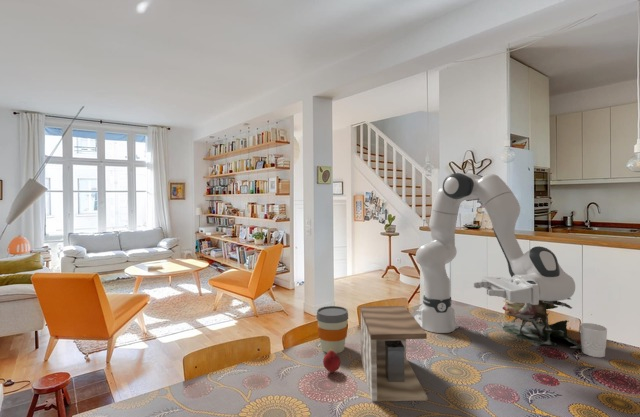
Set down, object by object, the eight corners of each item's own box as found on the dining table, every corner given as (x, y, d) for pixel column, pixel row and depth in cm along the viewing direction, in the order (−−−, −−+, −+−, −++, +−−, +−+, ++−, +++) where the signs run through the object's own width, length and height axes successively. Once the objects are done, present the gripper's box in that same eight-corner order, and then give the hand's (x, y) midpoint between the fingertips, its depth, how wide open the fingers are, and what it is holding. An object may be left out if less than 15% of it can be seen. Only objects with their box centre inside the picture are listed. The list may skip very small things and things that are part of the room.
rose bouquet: (549, 323, 158) (549, 258, 157) (592, 351, 129) (592, 271, 128) (491, 322, 161) (490, 258, 160) (520, 349, 132) (520, 271, 131)
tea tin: (385, 373, 113) (384, 340, 113) (401, 373, 113) (400, 340, 113) (388, 382, 108) (387, 347, 108) (404, 381, 108) (404, 347, 108)
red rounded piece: (342, 369, 118) (342, 346, 118) (337, 378, 113) (337, 354, 113) (326, 367, 120) (326, 344, 120) (321, 375, 115) (320, 351, 115)
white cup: (612, 359, 123) (612, 331, 122) (587, 357, 124) (587, 330, 124) (598, 349, 130) (599, 323, 130) (575, 348, 132) (575, 322, 132)
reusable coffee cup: (326, 358, 127) (325, 318, 127) (311, 346, 138) (310, 308, 138) (355, 351, 133) (354, 312, 132) (338, 339, 144) (337, 304, 144)
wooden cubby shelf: (361, 359, 125) (360, 306, 125) (405, 359, 125) (404, 305, 125) (371, 401, 99) (370, 334, 99) (427, 400, 99) (426, 333, 99)
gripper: (505, 272, 125) (467, 272, 125) (541, 286, 105) (496, 286, 105) (505, 289, 125) (467, 290, 125) (541, 306, 105) (496, 307, 105)
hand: (480, 288), depth 115 cm, fingers open, 8 cm apart
